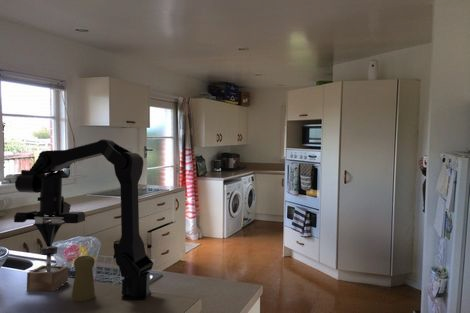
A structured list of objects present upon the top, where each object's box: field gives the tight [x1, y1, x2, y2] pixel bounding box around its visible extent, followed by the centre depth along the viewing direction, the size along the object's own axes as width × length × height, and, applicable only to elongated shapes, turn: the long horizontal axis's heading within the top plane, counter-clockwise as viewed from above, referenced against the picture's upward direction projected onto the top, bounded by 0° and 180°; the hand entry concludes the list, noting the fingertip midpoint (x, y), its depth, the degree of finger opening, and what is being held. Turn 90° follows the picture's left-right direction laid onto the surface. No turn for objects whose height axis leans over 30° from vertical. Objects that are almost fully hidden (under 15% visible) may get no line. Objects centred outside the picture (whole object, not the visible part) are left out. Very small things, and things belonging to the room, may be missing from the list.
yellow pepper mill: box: [70, 255, 96, 302], centre depth 101 cm, size 6×6×11 cm
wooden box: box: [26, 265, 69, 292], centre depth 109 cm, size 8×8×5 cm
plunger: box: [38, 245, 59, 273], centre depth 109 cm, size 6×6×7 cm
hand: (49, 246), depth 109 cm, fingers closed
